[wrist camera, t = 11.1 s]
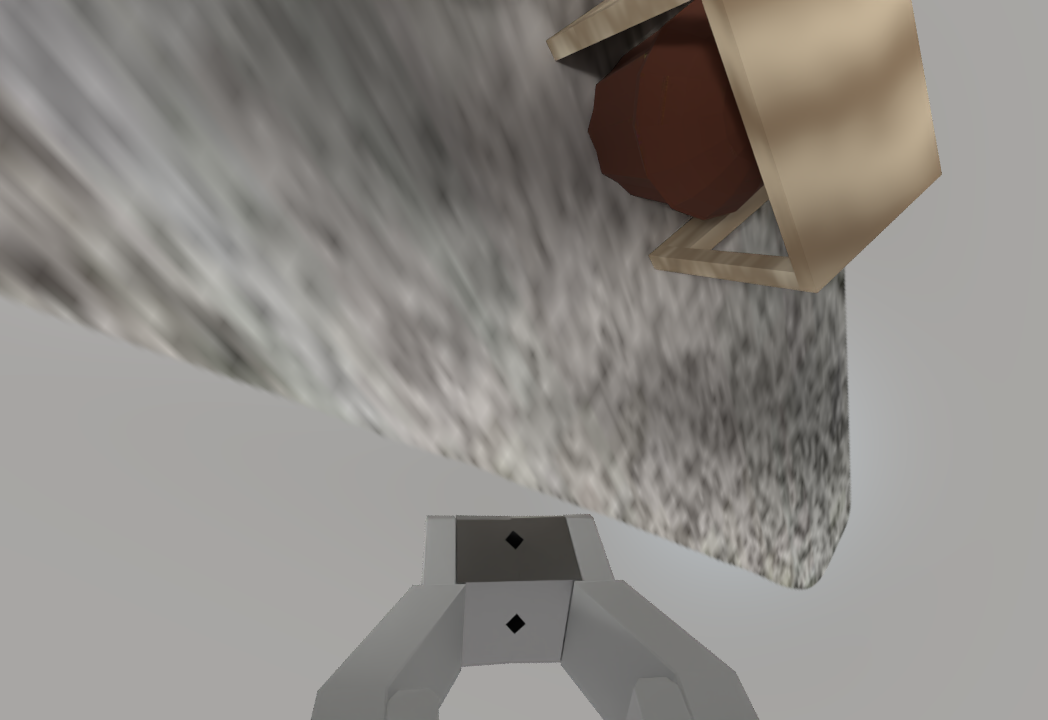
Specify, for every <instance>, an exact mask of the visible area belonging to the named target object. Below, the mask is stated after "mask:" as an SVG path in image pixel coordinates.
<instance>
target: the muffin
mask: <svg viewBox="0 0 1048 720" xmlns="http://www.w3.org/2000/svg"><path fill="white" fill-rule="evenodd" d="M588 133H589V135H590V138H591V140H592V142H593V145H594V147H595V149H596V152H597V156H598V160H599V164H600V168H601V172H602V174H604V175H606V176H608V177H609V178H611V179H613V180H614V181H616V182H618V183H619V184H620V185H621V186H622V187H623V188H624V189H625V190H626V191H627V192H629V193H630V194H631V195H634V196H638V197H642V198H646V199H650V200H655V201H659V202H663V203H667V204H668V205H669V206H670V207H671V208H672V209H674V210H677V211H679V212H682V213H685V214H687V215H690V216H693V217H696V218H698V219H701V220H707V219H711V218H714V217H718V216H722V215H725V214H729V213H733V212H736V211H737V210H738V209H739V208H740V207H741V206H742V205H743V204H745V203H746V202H747V201H748V200H749V199H750V198H751V197H752V196H753V195H754V194H755V193H756V192H757V191H758V190H759V189H760V188H761V187H762V186H763V185H764V182H763V179H762V176H761V173H760V170H759V167H758V164H757V161H756V158H755V156H754V153H753V150H752V147H751V144H750V141H749V138H748V135H747V132H746V129H745V126H744V123H743V120H742V117H741V114H740V111H739V108H738V106H737V103H736V100H735V97H734V94H733V91H732V88H731V85H730V82H729V79H728V76H727V73H726V70H725V67H724V64H723V61H722V58H721V56H720V53H719V50H718V47H717V44H716V41H715V38H714V35H713V32H712V29H711V26H710V23H709V20H708V17H707V14H706V11H705V8H704V6H703V3H702V0H694V1H693V2H691V3H690V4H689V5H688V6H687V7H685V8H684V9H683V10H682V11H681V12H679V13H678V14H677V15H676V16H674V17H673V18H672V19H671V20H670V21H668V22H667V23H666V24H665V25H664V26H663V27H662V28H661V29H660V30H659V31H657V32H656V33H654V34H653V35H651V36H650V37H649V38H647V39H646V40H644V41H643V42H642V43H640V44H639V45H637V46H636V47H635V48H633V49H632V50H630V51H629V52H627V53H626V54H625V55H624V56H623V57H622V58H621V59H620V61H619V62H618V63H617V65H616V66H615V67H614V69H613V70H612V71H611V72H610V73H609V74H608V75H607V76H606V77H604V78H603V79H602V80H601V81H600V82H599V83H598V84H596V90H595V99H594V109H593V113H592V116H591V120H590V124H589V128H588Z"/></svg>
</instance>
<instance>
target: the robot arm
mask: <svg viewBox="0 0 1048 720" xmlns="http://www.w3.org/2000/svg"><path fill="white" fill-rule="evenodd" d="M552 662H561V666H562V667H563V668H564V669H565V671H566V672H567V673H568V675H569V676H570V677H571V679H572V680H573V681H574V682H575V684H576V685H577V686H578V687H579V689H580V690H581V691H582V692H583V694H584V695H585V696H586V698H587V699H588V700H589V702H590V703H591V704H592V705H593V707H594V708H595V709H596V711H597V712H598V713H599V714H600V716H601V717H602V718H603V720H759V718H758V717H757V714H756V712H755V710H754V708H753V706H752V704H751V702H750V700H749V698H748V696H747V694H746V692H745V690H744V688H743V686H742V684H741V682H740V680H739V678H738V676H737V674H736V672H735V671H734V670H733V669H732V668H730V667H729V666H728V665H727V664H725V663H724V662H723V661H722V660H720V659H719V658H718V657H717V656H715V655H714V654H713V653H712V652H711V651H709V650H708V649H707V648H706V647H704V646H703V645H702V644H701V643H700V642H698V641H697V640H696V639H695V638H693V637H692V636H691V635H690V634H688V633H687V632H686V631H685V630H684V629H682V628H681V627H680V626H679V625H677V624H676V623H675V622H674V621H672V620H671V619H670V618H669V617H668V616H666V615H665V614H664V613H663V612H662V611H660V610H659V609H658V608H657V607H655V606H654V605H653V604H652V603H650V602H649V601H648V600H647V599H646V598H644V597H643V596H642V595H640V594H639V593H638V592H637V591H636V590H634V589H633V588H632V587H631V586H629V585H628V584H627V583H626V582H625V581H623V580H615V579H614V576H613V573H612V570H611V568H610V565H609V562H608V559H607V556H606V553H605V550H604V548H603V544H602V542H601V539H600V536H599V533H598V530H597V527H596V524H595V521H594V519H593V517H592V516H591V515H590V514H576V515H563V516H464V515H463V516H462V515H460V516H459V515H456V519H455V517H454V516H427V518H426V521H425V537H424V552H423V568H422V584H421V585H413V586H412V587H411V588H410V589H409V590H408V591H407V592H406V593H405V594H404V596H403V597H402V598H401V599H400V600H399V601H398V602H397V603H396V605H395V606H394V607H393V608H392V609H391V610H390V611H389V612H388V613H387V615H386V616H385V617H384V618H383V619H382V620H381V621H380V622H379V624H378V625H377V626H376V627H375V628H374V629H373V630H372V631H371V632H370V633H369V635H368V636H367V637H366V638H365V639H364V640H363V641H362V642H361V643H360V645H359V646H358V647H357V648H356V649H355V650H354V651H353V652H352V654H351V655H350V656H349V657H348V658H347V659H346V660H345V661H344V662H343V664H342V665H341V666H340V667H339V668H338V669H337V670H336V671H335V673H334V674H333V675H332V676H331V677H330V678H329V679H328V680H327V681H326V682H325V684H324V685H323V686H322V687H321V688H320V689H319V690H318V691H317V696H316V700H315V704H314V708H313V713H312V717H311V720H439V708H440V706H441V704H442V703H443V701H444V699H445V697H446V696H447V694H448V692H449V690H450V688H451V687H452V685H453V684H454V682H455V680H456V678H457V677H458V675H459V673H460V671H461V667H466V666H479V665H491V664H492V665H493V664H505V663H552Z"/></svg>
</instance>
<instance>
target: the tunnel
mask: <svg viewBox="0 0 1048 720" xmlns="http://www.w3.org/2000/svg"><path fill="white" fill-rule="evenodd" d="M688 1H690V0H604V1H603V2H602V3H600V4H599V5H597V6H596V7H594V8H593V9H591V10H590V11H589V12H587V13H586V14H584V15H583V16H581V17H580V18H578V19H577V20H575V21H574V22H573V23H571V24H570V25H568V26H567V27H565V28H564V29H562V30H561V31H560V32H558V33H557V34H555V35H554V36H552V37H551V38H549V39H548V40H546V42H547V44H548V46H549V48H550V50H551V52H552V54H553V57H554V59H555V61H557V60H559V59H561V58H563V57H566V56H568V55H570V54H572V53H574V52H577V51H579V50H581V49H583V48H586V47H588V46H590V45H592V44H595V43H597V42H599V41H601V40H603V39H606V38H608V37H610V36H612V35H615V34H617V33H619V32H621V31H623V30H626V29H628V28H630V27H632V26H635V25H637V24H639V23H641V22H643V21H646V20H648V19H650V18H652V17H655V16H657V15H659V14H661V13H663V12H666V11H668V10H670V9H672V8H675V7H677V6H679V5H681V4H683V3H686V2H688ZM702 3H703V6H704V8H705V11H706V14H707V17H708V20H709V23H710V26H711V29H712V32H713V35H714V38H715V41H716V44H717V47H718V50H719V53H720V56H721V58H722V61H723V64H724V67H725V70H726V73H727V76H728V79H729V82H730V85H731V88H732V91H733V94H734V97H735V100H736V103H737V106H738V108H739V111H740V114H741V117H742V120H743V123H744V126H745V129H746V132H747V135H748V138H749V141H750V144H751V147H752V150H753V153H754V156H755V158H756V161H757V164H758V167H759V170H760V173H761V176H762V179H763V182H764V185H763V186H762V187H761V188H760V189H759V190H758V191H757V192H756V193H755V194H754V195H753V196H752V197H751V198H750V199H749V200H748V201H747V202H746V203H745V204H743V205H742V206H741V207H740V208H739V209H738V210H737V211H736V212H733V213H729V214H725V215H722V216H718V217H714V218H711V219H707V220H701V219H698V218H696V217H693V218H692V219H691V220H690V221H688V222H687V223H686V224H685V225H684V226H683V227H681V228H680V229H679V230H678V231H677V232H675V233H674V234H673V235H672V236H671V237H670V238H668V239H667V240H666V241H665V242H664V243H662V244H661V245H660V246H659V247H658V248H657V249H655V250H654V251H653V252H652V253H651V254H649V255H648V256H649V258H650V260H651V262H652V264H653V266H654V268H655V269H657V270H664V271H670V272H677V273H684V274H691V275H698V276H704V277H711V278H718V279H725V280H731V281H738V282H745V283H752V284H759V285H765V286H772V287H779V288H786V289H792V290H799V291H806V292H813V293H818V292H819V291H820V290H821V289H822V288H823V287H824V286H825V285H826V284H827V283H828V282H829V281H831V280H832V279H833V278H834V277H835V276H836V275H837V274H838V273H839V272H840V271H841V270H842V269H843V268H844V267H845V266H846V265H847V264H848V263H849V262H850V261H852V259H854V258H855V257H856V256H857V255H858V254H859V253H860V252H861V251H862V250H863V249H864V248H865V247H866V246H867V245H868V244H869V243H870V242H871V241H872V240H873V239H875V238H876V237H877V236H878V235H879V234H880V233H881V232H882V231H883V230H884V229H885V228H886V227H887V226H888V225H889V224H890V223H891V222H892V221H893V220H895V218H897V217H898V216H899V214H901V213H902V212H903V211H904V210H905V209H906V208H907V207H908V206H909V205H910V204H911V203H912V202H913V201H914V200H915V199H916V198H918V197H919V196H920V195H921V194H922V193H923V192H924V191H925V190H926V189H927V188H928V187H929V186H930V185H931V184H932V183H933V182H934V181H935V180H936V179H937V178H938V177H940V176H941V175H942V172H941V167H940V161H939V155H938V150H937V145H936V138H935V133H934V127H933V121H932V115H931V110H930V104H929V98H928V93H927V87H926V82H925V75H924V70H923V65H922V58H921V53H920V47H919V41H918V36H917V30H916V24H915V19H914V13H913V7H912V2H911V0H702ZM768 200H770V203H771V206H772V208H773V211H774V214H775V217H776V220H777V223H778V226H779V229H780V232H781V235H782V238H783V241H784V244H785V247H786V250H787V253H788V255H789V257H783V256H772V255H760V254H749V253H738V252H727V251H716V250H711V249H713V248H714V247H715V246H716V245H717V244H718V243H719V242H721V241H722V240H723V239H724V238H725V237H726V236H727V235H729V234H730V233H731V232H732V231H733V230H734V229H735V228H737V227H738V226H739V225H740V224H741V223H742V222H744V221H745V220H746V219H747V218H748V217H749V216H750V215H752V214H753V213H754V212H755V211H756V210H757V209H758V208H760V207H761V206H762V205H763V204H764V203H765V202H766V201H768Z"/></svg>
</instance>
